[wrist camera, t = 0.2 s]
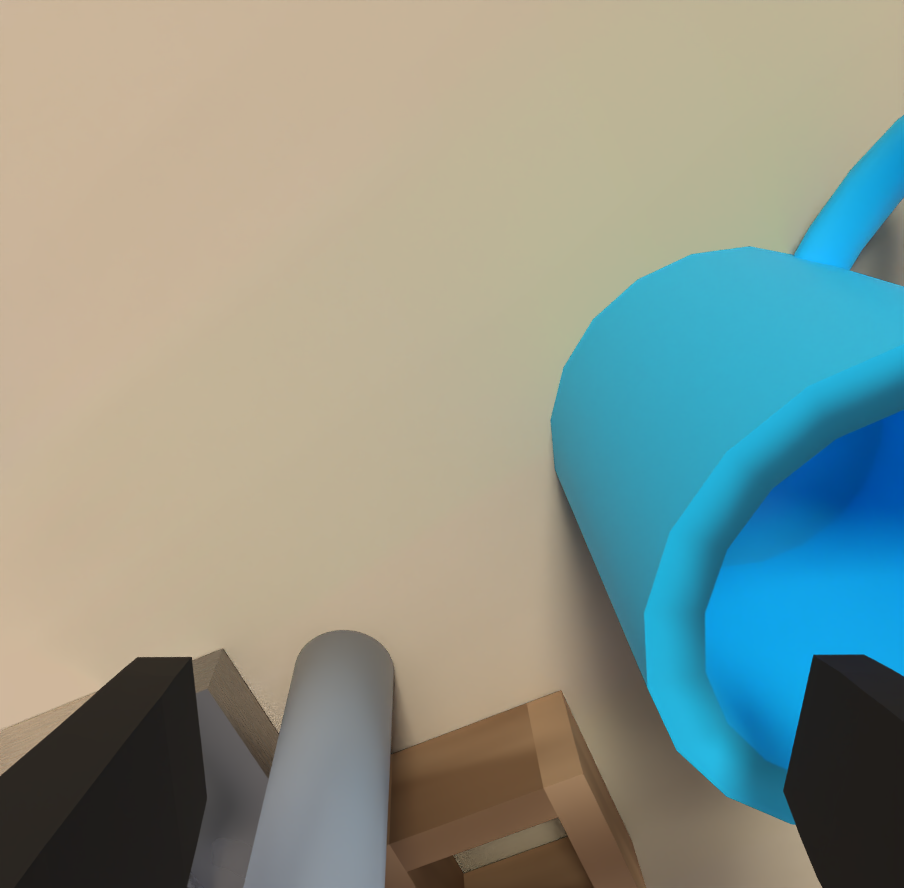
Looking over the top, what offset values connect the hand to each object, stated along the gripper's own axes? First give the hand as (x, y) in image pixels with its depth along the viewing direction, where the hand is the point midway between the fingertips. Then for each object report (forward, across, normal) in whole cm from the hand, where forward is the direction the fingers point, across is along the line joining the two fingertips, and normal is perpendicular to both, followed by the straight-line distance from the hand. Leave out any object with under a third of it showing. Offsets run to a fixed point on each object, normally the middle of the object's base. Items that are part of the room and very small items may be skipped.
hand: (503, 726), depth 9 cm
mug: (+10, -7, -2) cm, 12 cm away
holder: (+10, -2, +11) cm, 15 cm away
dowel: (+10, +3, +7) cm, 12 cm away
